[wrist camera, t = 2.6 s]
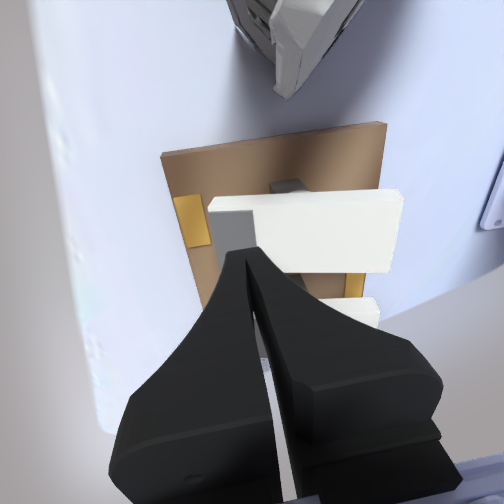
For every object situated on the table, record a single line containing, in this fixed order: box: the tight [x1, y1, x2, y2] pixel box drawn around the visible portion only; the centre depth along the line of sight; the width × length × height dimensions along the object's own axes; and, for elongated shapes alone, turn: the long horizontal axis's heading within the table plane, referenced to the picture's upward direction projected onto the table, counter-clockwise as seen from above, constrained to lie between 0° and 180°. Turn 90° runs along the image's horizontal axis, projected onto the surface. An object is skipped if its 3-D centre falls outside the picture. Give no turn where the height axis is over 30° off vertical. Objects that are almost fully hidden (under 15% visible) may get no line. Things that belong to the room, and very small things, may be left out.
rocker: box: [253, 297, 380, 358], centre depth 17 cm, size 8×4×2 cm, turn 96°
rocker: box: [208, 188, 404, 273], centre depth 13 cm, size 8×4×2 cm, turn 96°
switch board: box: [160, 121, 387, 310], centre depth 17 cm, size 12×13×3 cm
